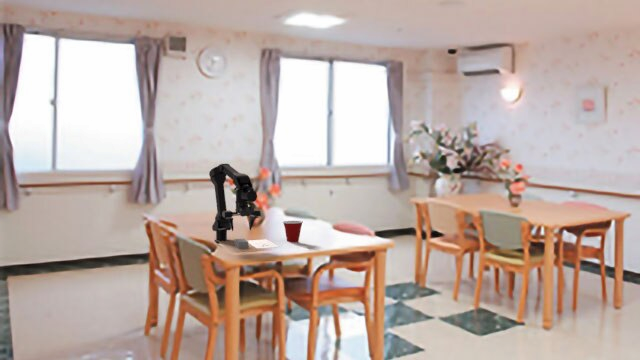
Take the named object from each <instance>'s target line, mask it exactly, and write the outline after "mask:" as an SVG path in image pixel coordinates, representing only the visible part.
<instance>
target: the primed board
mask: <svg viewBox="0 0 640 360" xmlns="http://www.w3.org/2000/svg"><path fill="white" fill-rule="evenodd" d="M247 241H248V245H251V246H252V247H254V248H255V249H266V248H267V249H268V248H269V249H271V248H279V247H280V246H278V245H277V244H275V243H273V242H272V241H270V240H268V239H253V240H251V239H249V240H247Z"/></svg>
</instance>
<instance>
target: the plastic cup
mask: <svg viewBox="0 0 640 360" xmlns="http://www.w3.org/2000/svg"><path fill="white" fill-rule="evenodd" d="M282 223H283V226H284V231H285V237H286V242H289V243H298V242H299V240H300V236H301V230H302V224H303V223H304V222H303V221H302V220H286V221H282Z"/></svg>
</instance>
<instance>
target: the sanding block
mask: <svg viewBox="0 0 640 360" xmlns="http://www.w3.org/2000/svg"><path fill="white" fill-rule="evenodd" d="M248 241H249V240H247V239H245V238H234V239H233V245H234V247H236V248H237V249H249V243H248Z"/></svg>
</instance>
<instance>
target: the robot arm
mask: <svg viewBox="0 0 640 360" xmlns="http://www.w3.org/2000/svg"><path fill="white" fill-rule="evenodd" d="M209 177H210V178H209V179H210V182H211V183H212V184H213V186H214V194H215V200H216V201H215V202H216V211H217V212H216V215H215V217H214V220H215V221H214V222H213V224H212V225H211V228H212V231H213V232H215V239H213V240H214V242H215V243H217V244H219V243H220V242H226V241H227V240H228V231H232V232H233V231H234V218H233V217H235V216H238V217H239V216H240V217H249V224H248V225H249V227H248V228H249V230H250V231H251V230H252V228H253V225H254V222H255V221H256V219H259V217H262V215H261V214H262V212H261V210H259V209H256V208H255V207H254V205H250V206H249V203H254V202H255V201H256V200H257V199H258V194H257V192H256V190H255V189H254V185H253V183H252V181H251V179H250V177H249V175H248V174H245V173H242V172H239V171H238V170H236V169H235V168H234V167H232V166H231V165H230V164H229V163H221V164H218V166H215V167H213V168H211V170H210V171H209ZM227 177H228V178H230V179H231V180H232V184H233V185H234V186H235V187H234V189H233V190H234V191H235V201H234V202H235V211H231V210H227V203H226V202H227V200H226V192H225V186H224V185H225V182H226V180H227ZM248 202H249V203H248ZM219 241H220V242H219Z"/></svg>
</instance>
